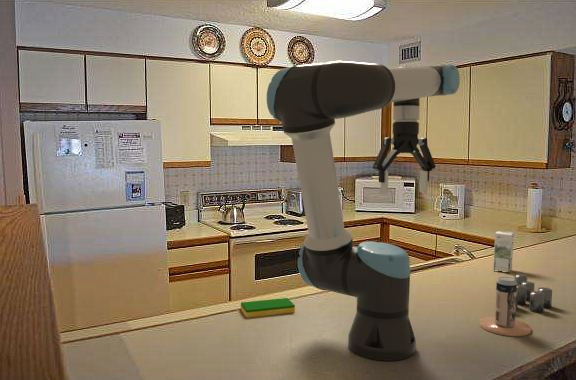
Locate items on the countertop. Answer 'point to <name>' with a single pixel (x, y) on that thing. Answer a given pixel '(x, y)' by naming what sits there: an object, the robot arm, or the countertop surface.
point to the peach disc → (516, 330)
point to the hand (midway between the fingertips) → (403, 193)
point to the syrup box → (503, 251)
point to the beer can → (505, 301)
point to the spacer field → (532, 295)
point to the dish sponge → (267, 307)
